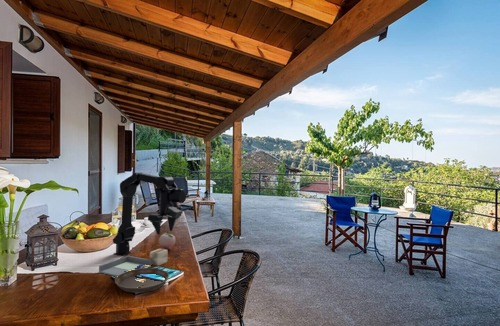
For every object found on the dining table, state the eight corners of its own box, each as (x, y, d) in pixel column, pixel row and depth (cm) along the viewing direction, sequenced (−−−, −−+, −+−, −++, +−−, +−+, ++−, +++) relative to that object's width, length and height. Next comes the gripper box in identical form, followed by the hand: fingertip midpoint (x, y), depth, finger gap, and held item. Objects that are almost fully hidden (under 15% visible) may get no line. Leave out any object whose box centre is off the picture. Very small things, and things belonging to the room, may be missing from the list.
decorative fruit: (155, 250, 173) (155, 232, 173) (164, 246, 181) (164, 229, 181) (168, 252, 170) (169, 234, 170) (177, 248, 177) (178, 231, 177)
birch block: (149, 264, 149) (150, 251, 149) (159, 260, 156) (159, 248, 156) (157, 266, 147) (158, 253, 147) (167, 261, 154) (167, 249, 154)
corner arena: (98, 272, 136) (99, 265, 137) (128, 261, 152) (128, 255, 152) (124, 278, 131) (124, 271, 131) (151, 266, 146) (151, 260, 146)
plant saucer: (167, 293, 117) (167, 285, 117) (109, 297, 112) (109, 288, 112) (170, 274, 137) (170, 267, 137) (121, 277, 133) (121, 269, 133)
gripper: (165, 204, 142) (165, 238, 142) (190, 200, 159) (189, 231, 159) (147, 203, 146) (146, 235, 146) (172, 199, 163) (172, 228, 163)
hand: (164, 232), depth 154 cm, fingers open, 9 cm apart
